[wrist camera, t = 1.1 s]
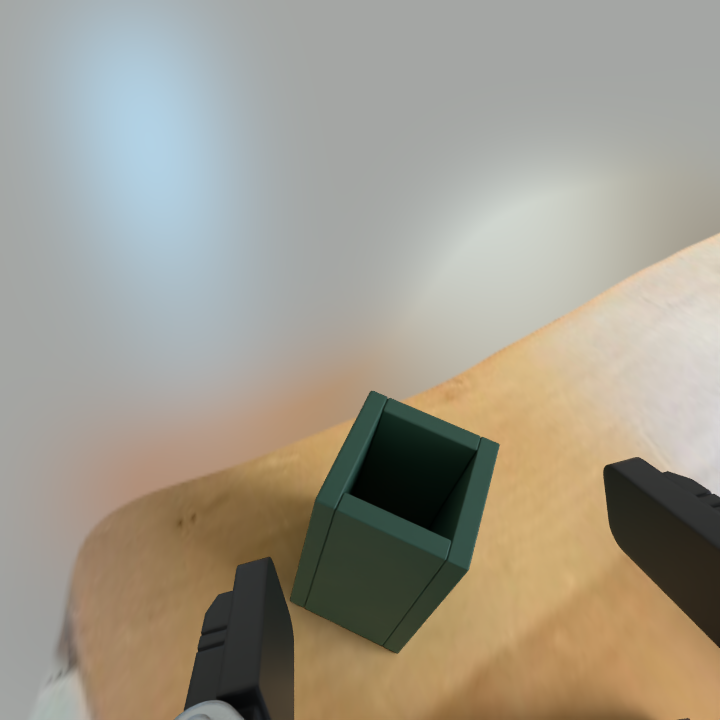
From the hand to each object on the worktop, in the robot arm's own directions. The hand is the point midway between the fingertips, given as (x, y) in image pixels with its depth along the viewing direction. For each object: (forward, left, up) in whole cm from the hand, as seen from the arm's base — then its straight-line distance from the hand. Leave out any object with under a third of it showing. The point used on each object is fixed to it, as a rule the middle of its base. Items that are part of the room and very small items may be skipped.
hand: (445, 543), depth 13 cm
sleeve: (+1, +4, -12) cm, 13 cm away
